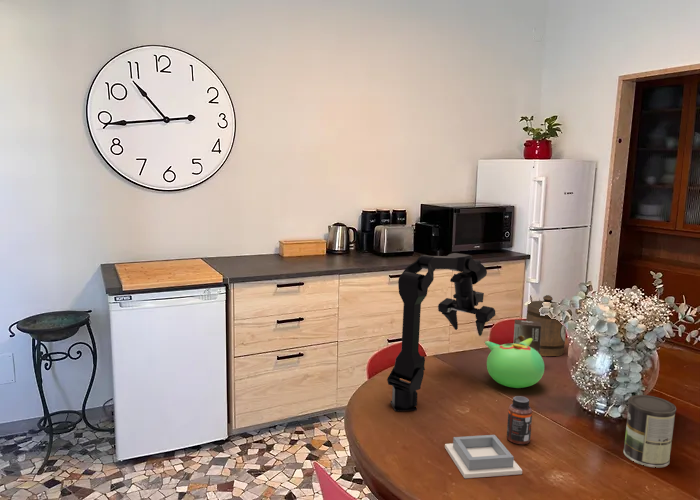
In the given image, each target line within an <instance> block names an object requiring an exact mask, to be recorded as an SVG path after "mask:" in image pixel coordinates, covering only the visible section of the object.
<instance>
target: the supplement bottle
mask: <svg viewBox="0 0 700 500" xmlns="http://www.w3.org/2000/svg"><path fill="white" fill-rule="evenodd" d="M507 410H508V412H507V423H506V424H507V426H506V438H507V440H508V441H509V442H510V443H512V444H517V445H527V444H529V443H530V442H531V438H532V437H531V435H532V422H533V421H532V420H533V409H532V408H531V406H530V400H529V398H528V397H526V396H523V395H516V396H514V397H512V403H510V404H509V406H508V409H507Z"/></svg>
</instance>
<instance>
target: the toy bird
mask: <svg viewBox="0 0 700 500" xmlns="http://www.w3.org/2000/svg"><path fill="white" fill-rule="evenodd" d="M532 340H533V339H532V338H529V339H526V340H524V341H522V342H520V343H518V344H517V343H514V342H513V343H512V342H511V343H504V344H498V343H495V342H492V341H488V340H486V341H485V342H484V344H485V346H487V348H488V349H489V350H490V352H489V354H488V356H487V358H486V370H487V372H488V375H489V376H490V377H491V379H493V380H494V381H495V382H496V383H498V384H499V385H501V386H505V387H508V388H513V389H521V388H522V389H523V388H528V387H531V386H534V385H536V384H538V383H539V381H541V379H542V378H543V375H544V374H545V362H544V359H543V356H541V355H540V354H539V353H538V352H537V351H536V350H535V349H533V348H531V347H529V345H530V344H531V342H532Z"/></svg>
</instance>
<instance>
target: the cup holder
mask: <svg viewBox="0 0 700 500" xmlns="http://www.w3.org/2000/svg"><path fill="white" fill-rule="evenodd" d="M444 448H445V450H446V452H447V453H448V455H449V456H450V458H451V460H452V461H453V463H454V464H455V466H456V468H457V470H459V472H460V474H461V475H462V477H463V479H473V478H486V477H487V478H488V477H489V478H490V477H502V476H515V475H522V474H523V469H522V468H521V467H520V466H519V464H518V463H517V461H515V460H514V459H515V458H514V457H515V456H514V455H513V454H511V452H510V450H508V448H507V447H506V446H505V445H504V444H503V443H502V442H501V440H500V439H499V438H498V437H497V435H495V434H486V435H468V436H453V438H452V443H445V444H444Z"/></svg>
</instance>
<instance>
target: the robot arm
mask: <svg viewBox="0 0 700 500" xmlns="http://www.w3.org/2000/svg"><path fill="white" fill-rule="evenodd" d="M422 270H427V272H426V273H425V274H421V273H419V272H421V271H422ZM436 270H450V271H453V272H458V273H454V274H453V276H452V277H451V278H450V282H451V283H454V285H453V286H454V292H455V293H454V294H453V296H452V297H453V298H450V297H446V298H445V299H444V300H442V301H440V302H439V303H438V305H437V310H438V312H439V313H441V315H443V316H444V317H445V318H446V319H447V320H448V322H449V323H450V324H451V326H452V327H453V329H454V330H456V331H457V330H458V327H459V323H458V315H457V313H458V312H461V313H468V314H472V315H475V316H474V317H475V319H476V320H475V326H476V330H477V334H478V336H479V337H481V336H482V335H483V332H484V328H485V325H486V323H489V322H490V321H491V319H493V318H494V317H495V316H497V315H496V309H495V308H494V307H491V306H487V305H483V306H482V307H480V308H476V307H477V306H478V305H479V303H483V302H484V295H485V293H484V292H481V291H476V290H475V289H473V288H474V287H473V285H476V284H477V283H479V282H480V281H482V280H483V279H484V278H485V277H486V276H487V273H488V270H487V269H486V267H485V265H484V264H483V263H482V261H481V259H480V260H479V259H473V255H471V254H465V253H458V252H453V253H449V254H448V255H446V256H445V255H443V256H441V255H427V254H422V255H420V256H419V257H418V258H417V260H415V261H414V262H413V263H411V264H409V265H408V266H406V268H405V269H404V270H403V272H401V274H400V276H399V277H398V281H397V282H398V283H397V284H398V294H399V296H400V299H401V300H402V302H403V311H402V327H401V328H402V330H401V333H402V335H401V349H400V352H399V353H398V355H397V356H396V357H395V362H394V366H393V367H392V369H391V372H390V373H389V375H388V376H387V379H386V381H387V385H388V386H389V385H390V386H392V397H391V399H392V400H390V404H391V406H392V408H393V410H394V412H412V411H417V410H418V408H417V405H418V392H417V391H419V390H420V389H421V387H422V383H423V379H424V374H425V372H424V371H425V370H426V369H425V368H426V367H425V362H426V357H425V356H423V355H421V354H420V351H419V344H420V330H421V328H420V327H421V308H422V303H423V301H424V300H425V299H426V297H427V295H428V289H429V287H430V286H431V285H432V283H433V282H434V274H435V273H434V272H435V271H436Z"/></svg>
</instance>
